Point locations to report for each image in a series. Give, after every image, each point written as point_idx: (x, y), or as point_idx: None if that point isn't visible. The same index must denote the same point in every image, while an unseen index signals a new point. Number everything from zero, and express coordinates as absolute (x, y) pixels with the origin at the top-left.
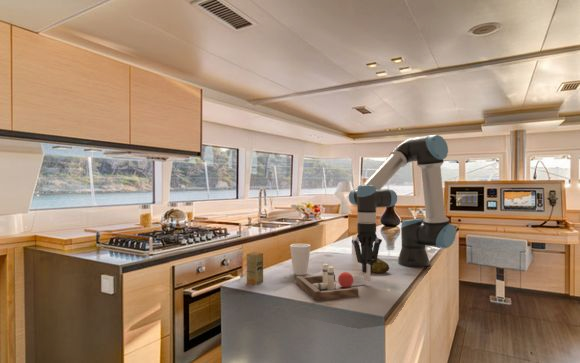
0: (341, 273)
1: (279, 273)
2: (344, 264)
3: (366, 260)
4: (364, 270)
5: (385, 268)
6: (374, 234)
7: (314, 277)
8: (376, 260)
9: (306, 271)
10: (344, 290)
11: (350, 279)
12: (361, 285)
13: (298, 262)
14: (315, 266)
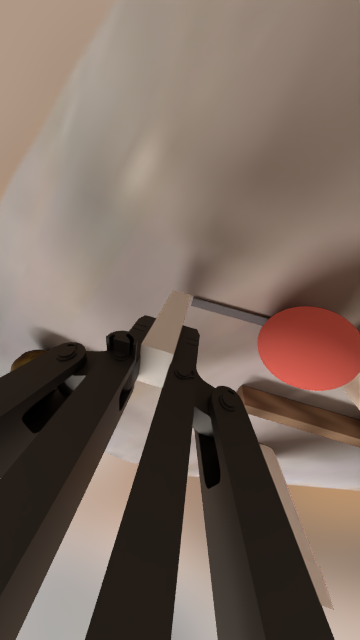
0: (340, 386)
1: (295, 469)
2: (116, 428)
3: (166, 399)
4: (194, 338)
5: (34, 357)
6: None
7: (325, 426)
8: (46, 353)
9: None
10: None
11: (328, 319)
12: (212, 303)
13: (289, 498)
14: None
